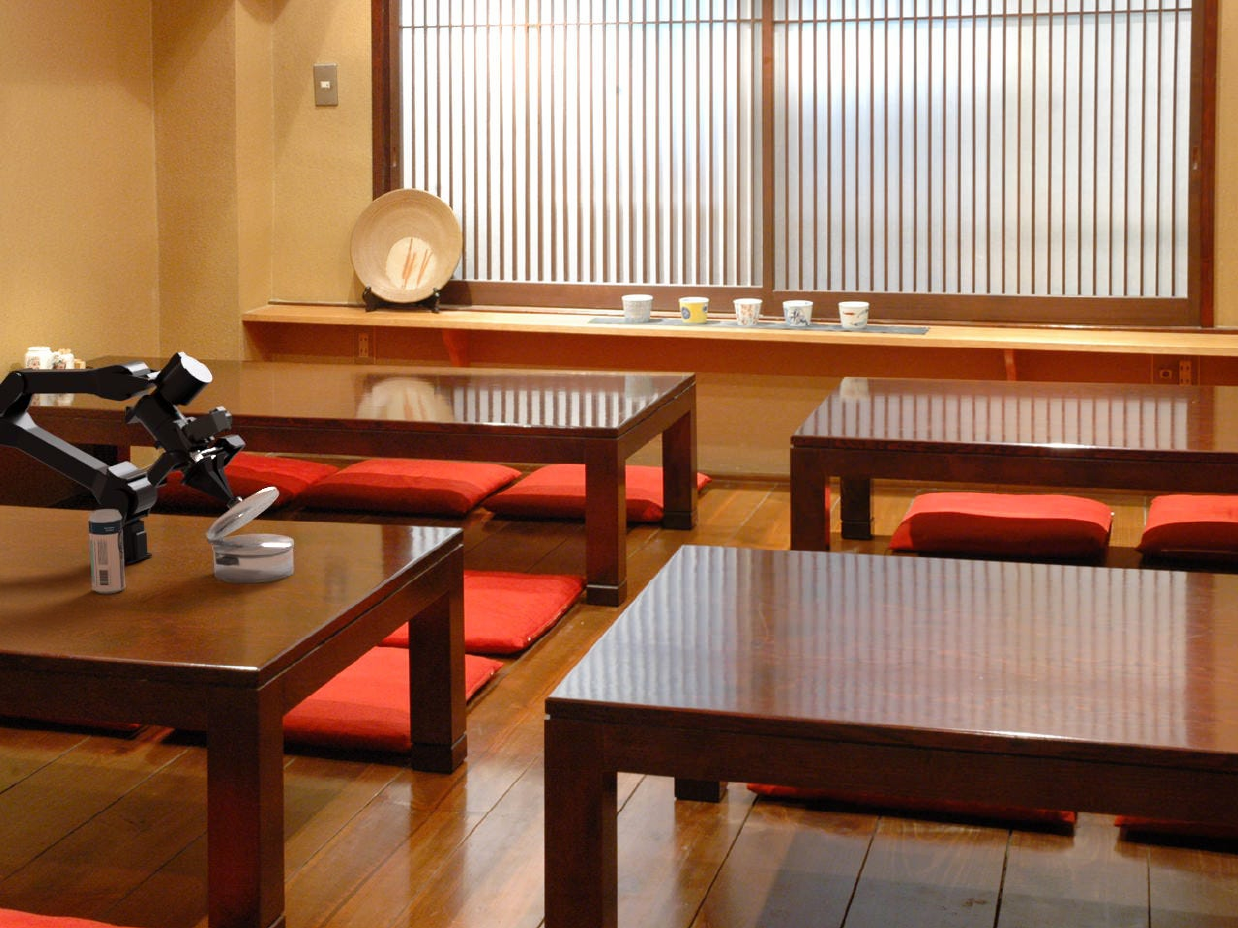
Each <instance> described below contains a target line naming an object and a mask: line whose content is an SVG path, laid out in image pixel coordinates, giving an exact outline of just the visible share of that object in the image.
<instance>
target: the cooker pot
mask: <svg viewBox="0 0 1238 928" xmlns="http://www.w3.org/2000/svg"><path fill="white" fill-rule="evenodd" d="M294 547H295V541H294V539H293V538H292V537H289V536H287V535H283V534H276V533H275V534H273V533H247V534H244V533H243V534H237V535H230V536H227V537H226V536H225V537H223V538H222V539H219V540H217V541H215V542H213V543H211V549H212V551H213V563H214V564H213V565H214V566H213V567H214V570H213V571H214V577H215V578H216V579H218V580H220V581H223V582H228V583H236V584H259V583H260V584H261V583H269V582H275V581H278V580H279V581H280V580H283V579H285V578H289V577H290V576H292V575H293V574H294V572H295V571H294V568H295V567H294V566H295V565H294Z"/></svg>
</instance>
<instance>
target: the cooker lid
mask: <svg viewBox="0 0 1238 928" xmlns="http://www.w3.org/2000/svg"><path fill="white" fill-rule="evenodd" d="M279 495H280V491H279V490H278V489H277V487H275V486H270V487H267V488H264V489H262V490H259V491H257V492H256V493H253V494H252V495H249V496H248V497H246V498H244V499H243V498H242V497H241V496H237V497H236V498H235V497H234V499H233V500H232V501H231V502H229V503H227V504H226V506H227V507H228V508H229V509H228V510H227V511H226V512H224V513H223V514H222V515H220V516H219V517H218V518H217V519H215V521H214V522H213V523H212V524H211V525H210V526H209V527H208V529H207V530H206V531H205V536H206V537H207V540H206V541H207V543H208V544H211V545H212V544H213V543H214V542H215V541H217V540H219V539H222V538H225V537H226V536H227V535H230V534H231V533H234V532H235V531H237V530H238V529H240V528H242V527H244V526H245V525H246V524H248V523H250V522H251V521H252V520H254V519H256V517H258V516H259V515H261V514H262V513H263V512H264V511H266V510H267V509H268V508H269V507H270V506H271V505H272V504H273V503H274V502H275V501H276V500H277V498H278V497H279Z"/></svg>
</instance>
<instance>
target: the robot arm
mask: <svg viewBox="0 0 1238 928" xmlns="http://www.w3.org/2000/svg"><path fill="white" fill-rule="evenodd" d="M212 380H213V375H212V373H211V371H210V370H209V368H208V367H207V366H206V365H205V364H204V363H201V362H200V361H198V360H197V359H196V358H193V357H192V356H188V355H187V354H186V353H185V352H184V351H178V352H175V353H174V354H173V355H172V356H171V358H170V360H169V361H168V363H166V365H165V366H164V367H162V369H161V370H159V369H154V368H149V366H147V364H146V363H145V362H143V361H141V360H130V361H125V362H121V363H120V362H119V363H115V364H112V365H111V364H110V365H105V366H102V367H96V368H31V367H26V368H21V369H16V370H12V371H11V372H9V373H8V374H6V376H5V378H4V379H3V380H2V381H1V383H0V446H3V447H9V448H14V449H17V450H19V451H21V452H23V453H24V454H26V455H28V456H29V457H31V458H34V459H35V460H37V461H39V462H40V463H42V464H43V465H46V466H48V467H50V469H53V470H55V471H57V472H59V473H60V474H62V475H64V476H66V477H67V478H69V479H70V480H73V481H75V482H76V483H78V484H80V485H82V486H83V487H85V488H87V489H88V490H90V491H91V492H92V495H93V496H94V497H95V499H96V500H97V502H98V504H99V505H98V506H96V508H95V509H93V511H95V510H101V509H115V510H118V511H119V513H120V515H121V516H122V532H123V551H124V566H125V565H131V564H134V563H136V562H138V561H142V560H145V559H148V558H150V557H153V553H152V552H148V538H147V537H148V536H147V535H148V533H147V531H146V530H145V521H144V520H142V519H144V518H148V517H149V516H150V512H151V510H152V509H151V508H152V507H153V506H154V505H155V504H156V502H157V499H158V488H161V487H165V486H166V485H168V477H167V476H168V475H169V474H172V473H176V472H181V475H182V476H183V477H182V478H181V480H180V481H179V482H178V484H179V485H181V486H187V487H189V488H191V489H194V490H197V491H199V492H202V493H204V494H206V495H208V496H211V497H213V498H214V499H217V500H219V501H222V502H224V503H226V504H228V503H229V502H231V501H232V500H233V499H235V497H234V495H233V492H232V490H231V487H230V484H229V481H228V479H227V476H226V472H225V468H226V467H228V466H229V465H230V463H232V461H233V460H234V459H235V458H236V457H237V456H238V454H239V453H240V452H241V451H242V450H243V448H245V447H246V443H245V441H244V440H243V439H242V437H240V436H239V434H229V435H225V436H222V437H219V438H217V440H216V439H215V437H214V436H216V435H219V434H220V433H223V432H225V431H226V432H228V431H230V430H231V429H232V427H231V424H233V414H231V413H230V411H228V410H227V409H226V408H225V407H224V406H223V405H220V406H217V407H215V409H210V410H209V411H208V413H207V414H204V415H202V416H200V417H198V418H196V417H193V416H190V417H186V416H185V415H184V414H183V413H182V412H181V410H180V409H179V408H178V407H180V406H183V407H188V406H190V405H191V404H192V403H193V401H194V400H196V398H197V397H199V395H200V394H201V393H202V392H203V391H204V390H205V388H207V386H209V384H210V383H211V382H212ZM153 388H155V389H154V390H153V391H151V389H153ZM150 391H151V393H150V394H148V393H149V392H150ZM47 394H48V395H54V394H55V395H56V394H57V395H58V394H60V395H61V394H62V395H63V394H65V395H68V394H69V395H70V394H71V395H72V394H73V395H77V394H78V395H79V394H87V395H92V396H94V397H97V398H99V399H103V400H108V401H115V402H125V401H127V400H131V399H136V398H139V397H140V398H139V399H138V401H136V403H134V404H133V405H126V406H125V408H124V409H125V414H124V417H123V423H124V424H125V425H127V424H134V423H135V424H136V423H139V422H140V423H141V424H142V425H143V426H144V428H145V429H146V430H147V431H148V432H149V434H151V436H152V437H153V439H154V440H155V442H153V444H152V447H154V448H155V450H157V451H158V450H162V449H163V451H164V452H162V453H161V454H160V455H159V457H157V459H156V460H155V461H154V463H153V464H151V466H150V467H149V468H148V469H147V470H142V469H140V468H138V467H136V465H134V464H133V463H131V462H130V461H127V460H126V461H123V462H120V463H117V464H114V465H112V466H111V465H109V464H107V463H104V462H103V461H100V460H99V459H97V458H95V457H93V456H92V455H90V454H88V453H86V452H84V451H83V450H81V449H80V448H77V447H76V446H74V445H71V444H70V443H68V442H67V441H65V440H63V439H61V438H60V437H58V436H57V435H54V434H52V433H51V432H49V431H47V430H46V429H43V428H41V427H40V426H38V425H37V424H36V423H35V422H34V420H33V419H32V417H31V415H30V414H29V412H27V411H28V410H29V408H30V406H31V405H32V401H33V399H34V395H47ZM215 440H216V441H215ZM212 443H213V444H212ZM210 445H211V447H209V446H210Z"/></svg>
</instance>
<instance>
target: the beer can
mask: <svg viewBox="0 0 1238 928" xmlns="http://www.w3.org/2000/svg"><path fill="white" fill-rule="evenodd" d="M94 510H95V509H94ZM94 510H92V511H91V513H90V515H89V516H88V519H87V520H88V522H87V523H88V537H89V538H88V539H89V554H90V555H89V556H90V571H91V590H93V591H95V592H96V593H98V594H103V595H107V594H108V595H109V594H116V593H119V592H121V591H122V590H124V589H125V588H126V576H125V575H126V574H125V573H126V572H125V571H126V570H125V564H124V551H123V532H122V516H121V515H120V513H119V511H118V510H115V509H101V510H95V511H94Z"/></svg>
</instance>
